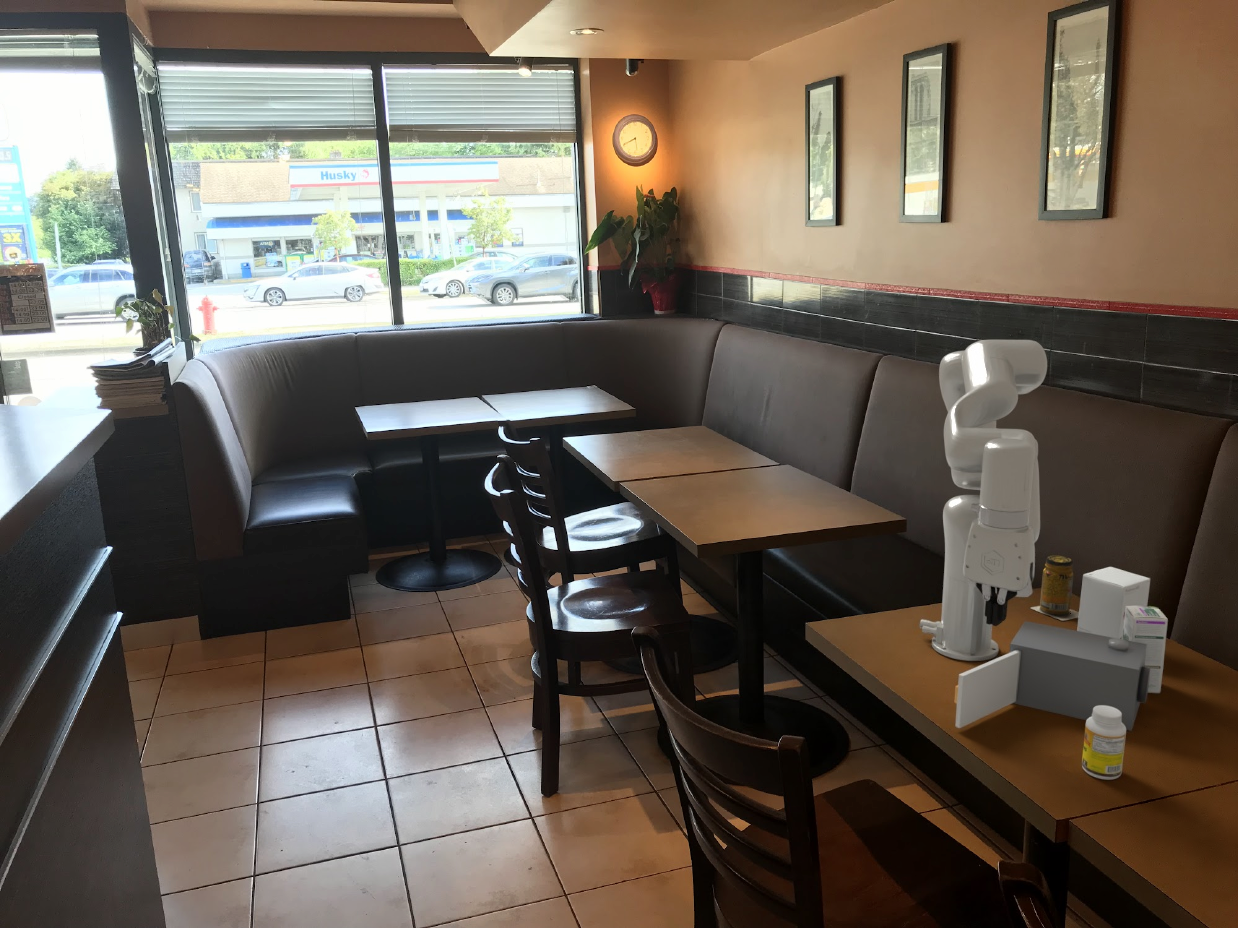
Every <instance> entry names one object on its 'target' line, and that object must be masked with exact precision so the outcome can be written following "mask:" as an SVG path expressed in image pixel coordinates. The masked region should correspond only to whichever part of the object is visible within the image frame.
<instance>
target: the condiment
mask: <svg viewBox="0 0 1238 928" xmlns="http://www.w3.org/2000/svg"><path fill="white" fill-rule="evenodd" d="M1073 564H1074V563H1073V560H1072V559H1071V558H1069V557H1068V556H1062V555H1050V556H1047V558H1046V559H1045V564H1044V566H1045V567H1044V569H1043V571H1042V578H1041V579H1042V580H1041V587H1040V588H1041V590H1040V600H1039V601H1040V602H1039V605H1037V606H1032V607H1030V609H1031V610H1034V611H1036V612H1039V613H1041V614H1044V615H1046V616H1050V617H1052V618H1054V619H1058V620H1060V621H1068V620H1073V619H1078V617H1079V611H1076V610H1074V609H1071V604H1072V603H1071V601H1072V592H1073V581H1074V573H1073ZM1069 611H1071V612H1069ZM1070 613H1071V614H1070Z"/></svg>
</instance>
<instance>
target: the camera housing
mask: <svg viewBox="0 0 1238 928" xmlns="http://www.w3.org/2000/svg"><path fill="white" fill-rule="evenodd" d="M1146 648H1147V644H1144V643H1138V642H1133V641H1128V640H1123V639H1117V638H1112V637H1107V636H1101V635H1096V634H1091V633H1086V632H1080V631H1077V630H1073V629H1070V628H1064V627H1060V626H1059V627H1058V626H1054V625H1048V624H1043V623H1037V622H1033V621H1027V620H1025V621H1024V622H1023V623H1022V624H1021V626H1020V627H1019V629H1018V631H1017V633H1016V634H1015V635H1014V637H1013V639H1012V640H1011V642H1010V643H1009V652H1008V653H1010V652H1013V651H1015V650H1020V651H1021V658H1020V669H1019V681H1018V693H1017V701H1016V702H1014V703H1013V704H1015V705H1020V706H1024V707H1029V708H1032V709H1037V710H1041V711H1045V712H1048V713H1049V712H1050V713H1053V714H1054V713H1055V714H1057V715H1062V716H1067V717H1071V718H1075V719H1079V720H1084V721H1086V720H1087V719H1088V718H1089V717H1091V716H1092V713H1093V708H1094V707H1095V706H1099V705H1105V706H1110V707H1114V708H1116V709H1118V710H1119V711H1120V712H1121V713H1122V718H1121V719H1122V721H1121V722H1122V723H1123V724H1124V725H1125V727H1126V731H1130V732H1132V731H1133V727H1134V724H1135V720H1136V717H1137V714H1138V711H1139V708H1140V705H1141V703H1143V704H1147V703H1146V701H1147V699H1148V694H1149V693H1148V688H1149V680H1150V668H1148V667H1144V665H1145V657H1146Z"/></svg>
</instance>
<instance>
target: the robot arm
mask: <svg viewBox="0 0 1238 928" xmlns="http://www.w3.org/2000/svg"><path fill="white" fill-rule="evenodd" d="M1047 370H1048V359H1047V354H1046V352H1045V349H1044V347H1043V346H1042V345H1041V344H1040V343H1039V342H1038V341H1035V340H1032V339H981V340H979V341H975V342H973V343H971V344H970V345H968V346H967V347H966V348H965V350H958V351H954V352H953V351H952V352H950V353H948V354H946V355H945V356H943V357H942V359H941V361H940V364H939V371H938V375H939V377H938V380H939V388H940V392H941V397H942V400H943V402H944V405H945V408H946V410H947V415H946V417H945V420H944V425H943V440H944V453H945V458H946V463H947V464H948V467H950V471H951V472H950V473H951V478H952V481H953V483H954V485H956V486H957V487H958V488H962V489H967V490H975V491H976V490H977V491H980V492H979V494H963V495H956V496H954V497H952V498H950V499H949V500H948V501H946V503H945V504H944V507H943V509H942V511H943V512H942V520H943V521H942V522H943V533H944V534H943V535H944V552H945V553H944V571H943V572H944V573H943V585H942V587H943V589H942V602H941V603H942V604H941V617H940V618H941V619H940V620H941V621H939V620H936V621H931V620H928V619H923V618H922V619H920V622H919V628H920V629H922V633H924V634H930V635H933V636H932V638H931V646H932V649H934V651H936V652H937V653H939V654H941V655H943V656H945V657H947V658H951V659H954V660H959V661H967V662H982V661H983V662H984V661H988V660H989V661H990V660H991V659H995V657H997V655H999V649H1000V648H999V647H1000V646H999V644H998V643H997V642H996V641H995V640H993V639H992V631H993V626H994V627H998V626H999V625H1000V624H1001V623H1003V622H1005V621H1006V618H1007V614H1008V603H1009V601H1010V600H1012V599H1013V598H1015V597H1016V598H1017V597H1018V598H1029V597H1031V595H1032V594H1033V592H1034V591H1033V587H1032V584H1033V582H1034V578H1035V567H1036V565H1035V563H1036V558H1035V557H1036V553H1035V552H1036V548H1035V543H1037V541H1038V539H1039V535H1040V532H1041V531H1040V530H1041V505H1040V504H1041V502H1040V499H1041V497H1040V472H1039V470H1040V469H1039V468H1040V467H1039V461H1038V459H1039V458H1038V456H1039V444H1038V441H1037V439H1035V436H1034V435H1033V434H1032V432H1030V431H1028V430H1026V429H1022V428H997V421H998V420H1000V419H1003V418H1005V417H1006V416H1008V415H1010V413H1011V412H1012V411H1013V410H1014V409H1015V408H1016V407H1017V404H1018V402H1019V401H1018V399H1019V395H1025V394H1029V393H1031V392H1032V391H1033V390H1036V389H1037V388H1038V387H1040V386H1041V384H1042V383H1043V382H1044V380H1045V378H1046V375H1047ZM997 588H998V589H999V591H998V589H997Z"/></svg>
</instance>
